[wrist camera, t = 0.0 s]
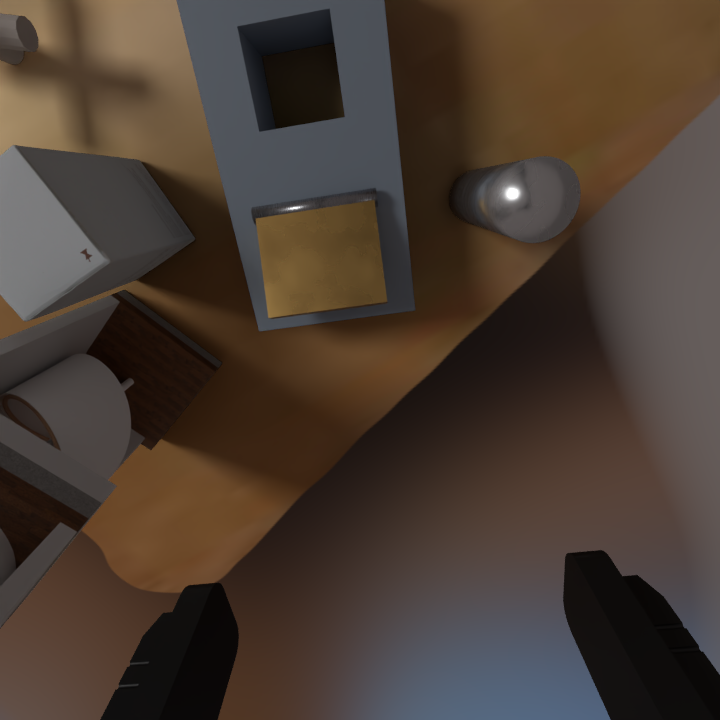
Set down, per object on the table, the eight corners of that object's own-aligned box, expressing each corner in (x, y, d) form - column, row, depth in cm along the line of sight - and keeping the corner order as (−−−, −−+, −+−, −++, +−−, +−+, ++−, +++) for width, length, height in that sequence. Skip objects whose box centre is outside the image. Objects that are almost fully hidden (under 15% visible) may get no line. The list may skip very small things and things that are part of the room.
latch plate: (256, 210, 29) (250, 204, 28) (376, 191, 28) (375, 184, 27) (270, 319, 29) (265, 318, 28) (390, 303, 28) (390, 301, 27)
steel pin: (447, 173, 33) (496, 163, 20) (498, 165, 33) (582, 149, 20) (450, 226, 34) (498, 248, 22) (499, 218, 34) (578, 236, 21)
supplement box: (140, 156, 33) (14, 138, 21) (198, 240, 35) (113, 265, 24) (73, 206, 35) (-79, 214, 23) (133, 283, 37) (23, 326, 25)
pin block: (207, 10, 29) (168, -31, 24) (375, -24, 28) (376, -75, 23) (275, 310, 38) (259, 331, 32) (408, 292, 37) (415, 310, 31)
